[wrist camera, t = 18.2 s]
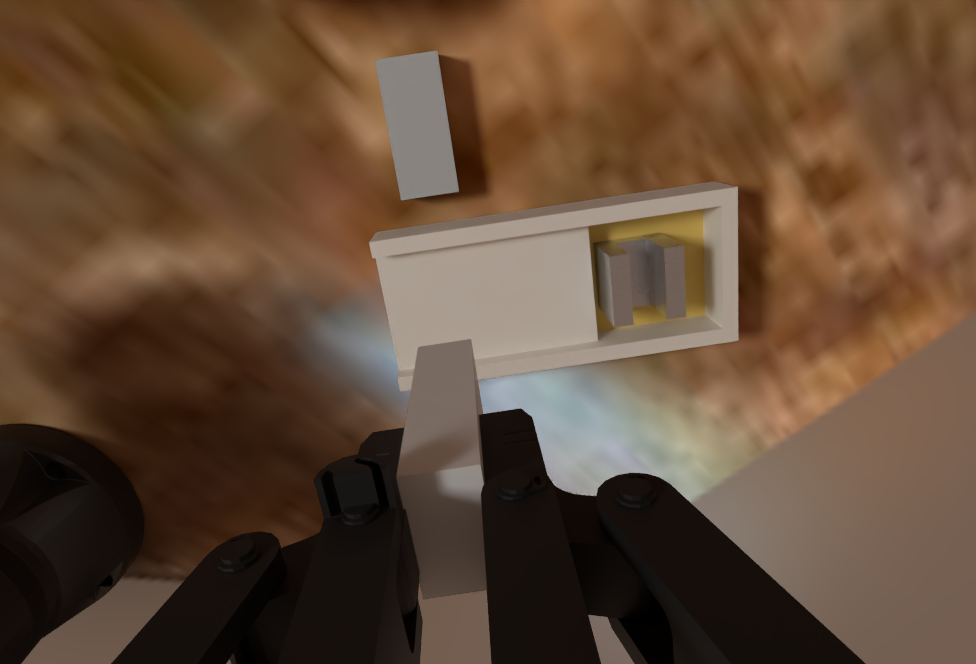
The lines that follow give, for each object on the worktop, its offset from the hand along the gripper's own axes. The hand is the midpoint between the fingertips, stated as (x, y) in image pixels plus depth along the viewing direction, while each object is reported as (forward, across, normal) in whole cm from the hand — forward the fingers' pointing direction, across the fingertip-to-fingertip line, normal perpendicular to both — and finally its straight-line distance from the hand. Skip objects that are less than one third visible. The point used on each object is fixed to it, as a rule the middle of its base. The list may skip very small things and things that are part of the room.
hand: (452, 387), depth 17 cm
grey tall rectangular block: (+24, -1, +7) cm, 25 cm away
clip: (+24, +11, -4) cm, 27 cm away
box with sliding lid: (+24, +6, -4) cm, 26 cm away
